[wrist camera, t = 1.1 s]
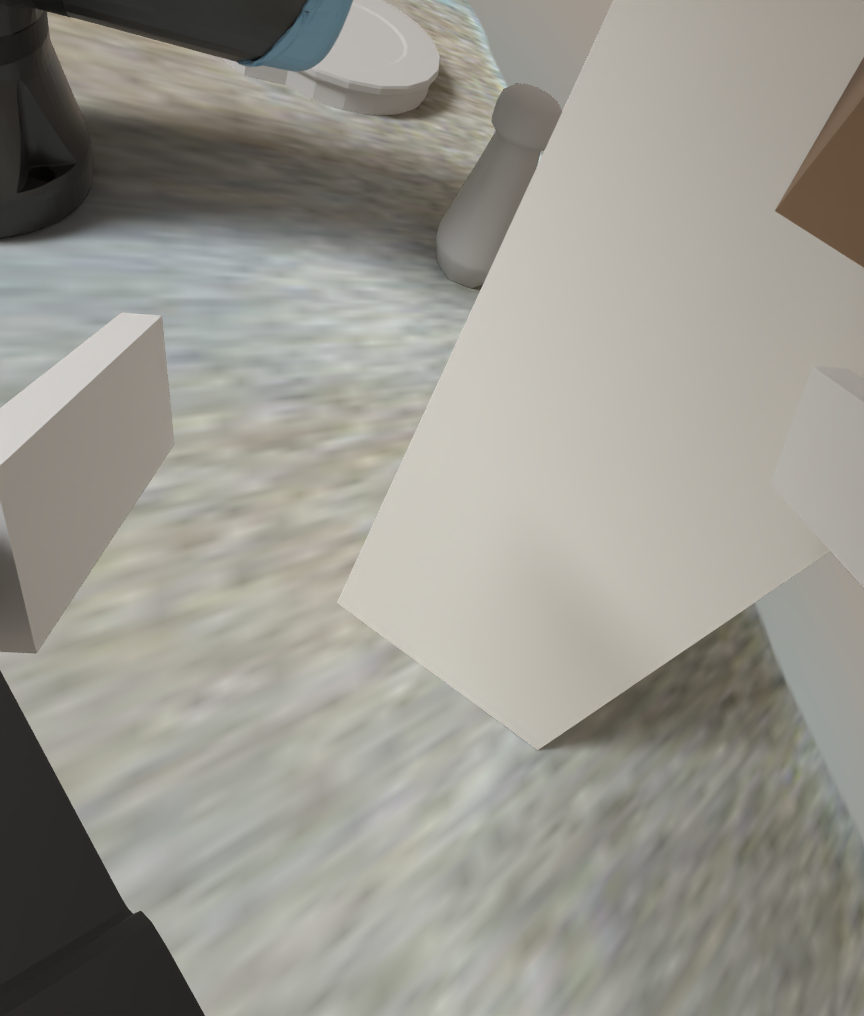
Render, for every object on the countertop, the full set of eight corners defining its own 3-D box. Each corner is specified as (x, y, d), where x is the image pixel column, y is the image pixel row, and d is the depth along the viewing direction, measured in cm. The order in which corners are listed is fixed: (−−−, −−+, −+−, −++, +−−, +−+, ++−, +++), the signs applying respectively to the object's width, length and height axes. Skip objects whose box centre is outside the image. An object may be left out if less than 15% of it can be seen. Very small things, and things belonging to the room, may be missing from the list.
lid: (186, -6, 64) (188, -45, 62) (391, 23, 74) (399, -10, 71) (239, 111, 57) (243, 72, 55) (459, 128, 66) (471, 95, 64)
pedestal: (537, 750, 35) (1323, 216, 12) (336, 603, 36) (687, -161, 13) (633, 558, 44) (1197, 29, 20) (469, 444, 45) (824, -187, 21)
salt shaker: (497, 253, 57) (574, 86, 47) (504, 303, 54) (588, 136, 43) (425, 235, 55) (488, 58, 45) (428, 285, 52) (496, 107, 42)
